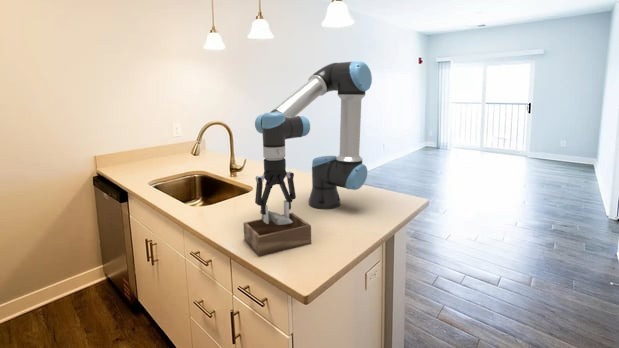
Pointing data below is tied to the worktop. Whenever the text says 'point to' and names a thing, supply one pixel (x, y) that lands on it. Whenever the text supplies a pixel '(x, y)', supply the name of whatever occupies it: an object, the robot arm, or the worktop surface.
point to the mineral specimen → (277, 218)
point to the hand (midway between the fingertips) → (276, 220)
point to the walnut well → (276, 235)
